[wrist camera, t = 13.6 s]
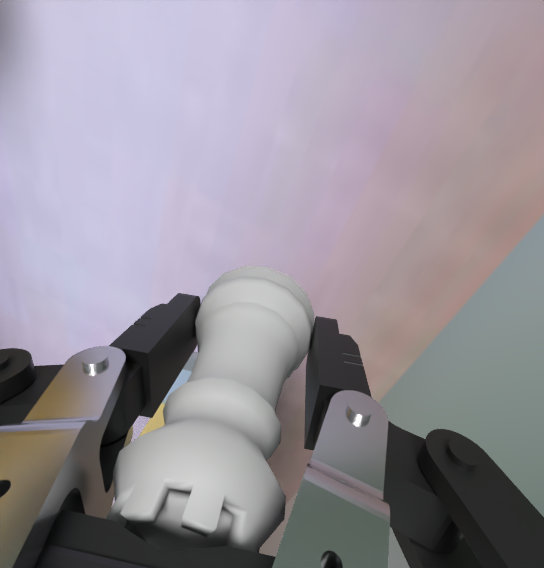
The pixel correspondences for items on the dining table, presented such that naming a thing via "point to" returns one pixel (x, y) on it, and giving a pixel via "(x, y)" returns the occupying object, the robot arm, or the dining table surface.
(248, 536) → the rook chess piece
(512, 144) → the dining table surface
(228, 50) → the dining table surface
